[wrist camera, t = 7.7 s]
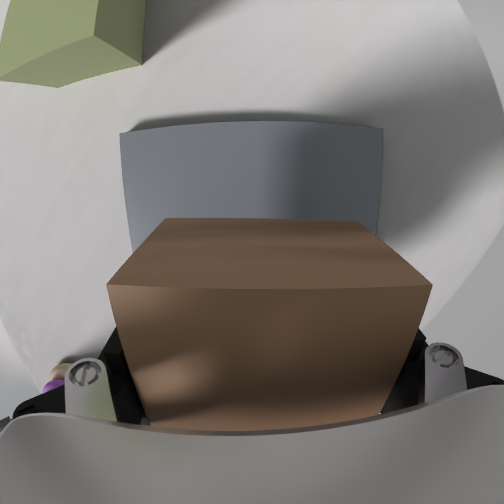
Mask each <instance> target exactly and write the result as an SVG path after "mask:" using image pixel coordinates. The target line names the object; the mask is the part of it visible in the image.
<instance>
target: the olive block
mask: <svg viewBox="0 0 504 504" xmlns="http://www.w3.org/2000/svg"><path fill="white" fill-rule="evenodd" d="M146 2H147V0H11V1H10V4H9V8H8V12H7V15H6V19H5V23H4V28H3V32H2V37H1V42H0V81H7V82H17V83H26V84H34V85H41V86H48V87H55V88H59V87H62V86H65V85H68V84H71V83H74V82H77V81H80V80H83V79H87V78H90V77H94V76H97V75H101V74H105V73H109V72H113V71H117V70H121V69H126V68H130V67H135V66H140V65H142V57H143V37H144V23H145V12H146Z"/></svg>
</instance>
